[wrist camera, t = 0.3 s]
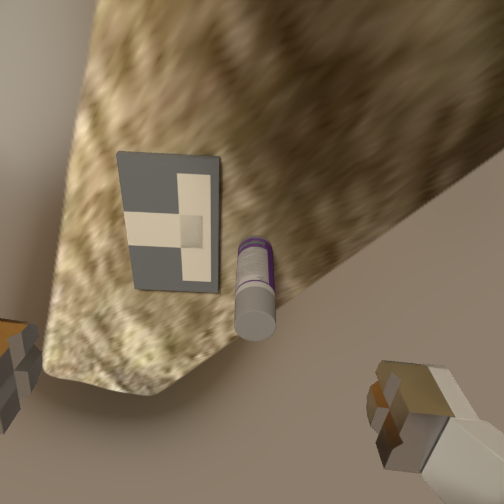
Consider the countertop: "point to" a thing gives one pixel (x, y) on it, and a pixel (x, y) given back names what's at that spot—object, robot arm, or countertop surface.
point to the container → (255, 290)
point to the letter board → (171, 219)
